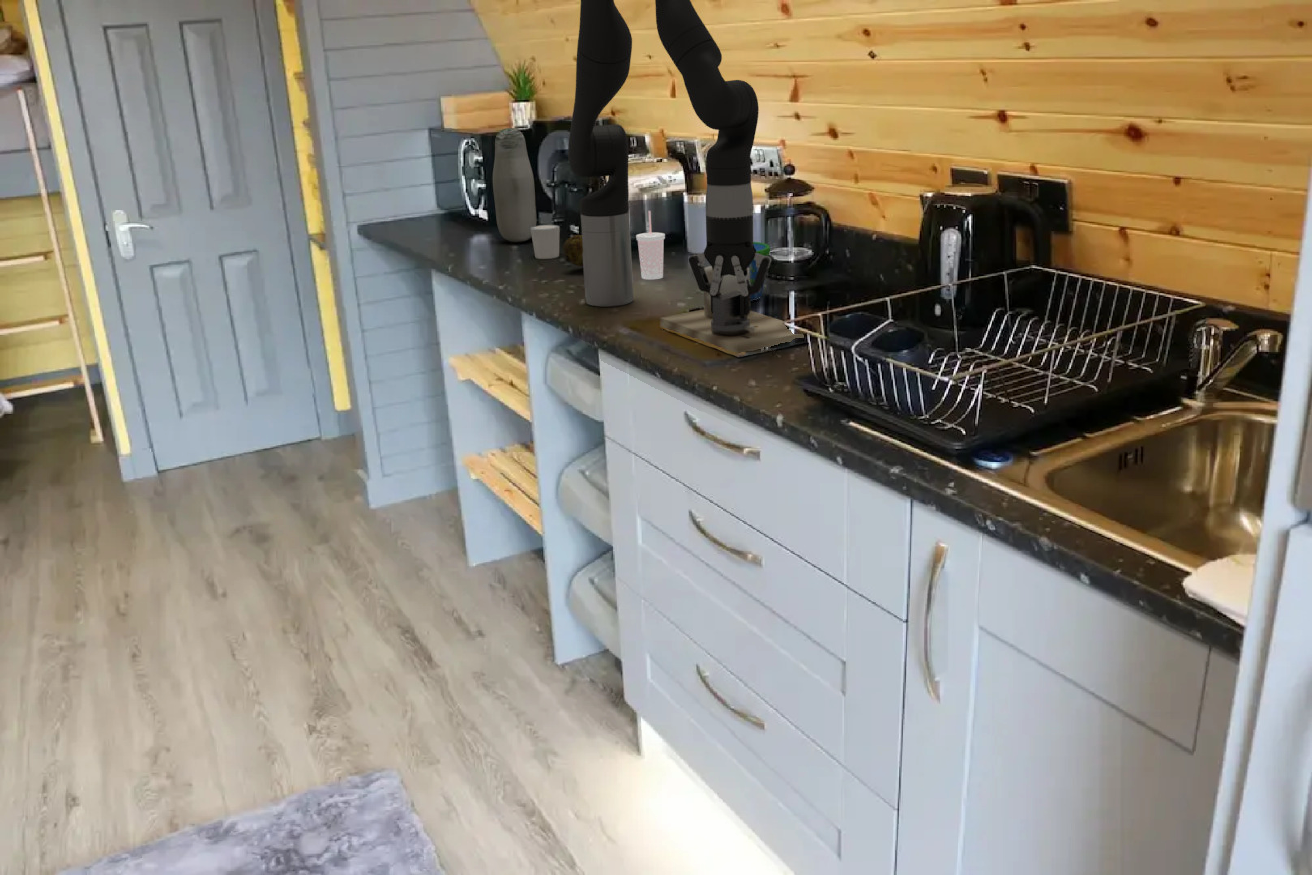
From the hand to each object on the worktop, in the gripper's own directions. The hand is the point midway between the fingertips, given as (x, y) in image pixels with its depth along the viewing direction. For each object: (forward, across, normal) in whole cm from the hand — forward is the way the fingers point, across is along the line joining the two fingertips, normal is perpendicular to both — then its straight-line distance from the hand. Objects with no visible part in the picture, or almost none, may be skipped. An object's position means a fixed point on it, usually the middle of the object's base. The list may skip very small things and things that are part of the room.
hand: (731, 316), depth 183 cm
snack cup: (+5, -5, +31) cm, 32 cm away
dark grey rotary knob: (+2, +1, -1) cm, 3 cm away
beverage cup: (+5, -29, +48) cm, 57 cm away
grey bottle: (+5, -76, +86) cm, 115 cm away
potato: (+5, -45, +55) cm, 71 cm away
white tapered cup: (+5, -61, +68) cm, 92 cm away
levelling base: (+5, -1, +5) cm, 7 cm away
